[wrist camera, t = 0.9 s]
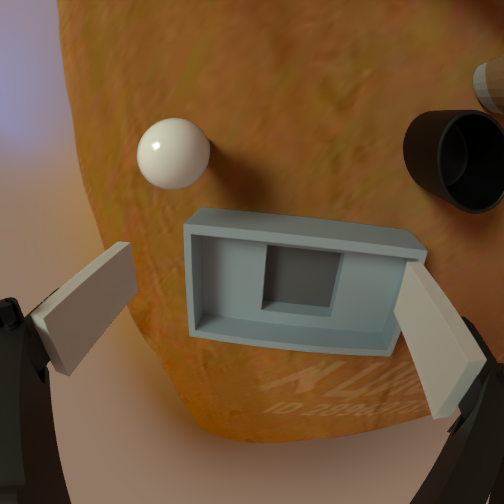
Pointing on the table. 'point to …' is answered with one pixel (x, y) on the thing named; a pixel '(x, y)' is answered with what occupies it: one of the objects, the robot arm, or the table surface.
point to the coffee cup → (490, 84)
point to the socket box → (295, 281)
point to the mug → (457, 157)
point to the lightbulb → (173, 153)
